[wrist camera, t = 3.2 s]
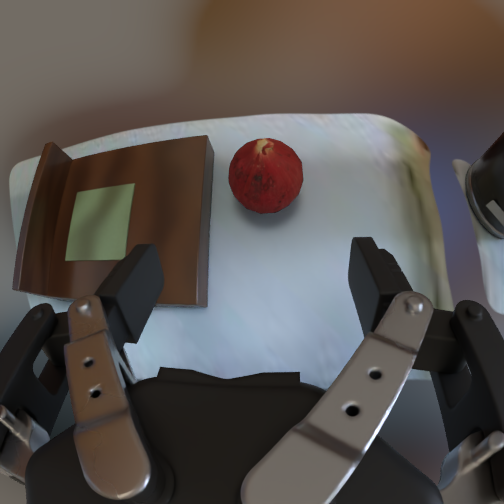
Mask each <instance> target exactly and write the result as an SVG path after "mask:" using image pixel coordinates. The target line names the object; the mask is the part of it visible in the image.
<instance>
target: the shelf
mask: <svg viewBox="0 0 504 504" xmlns="http://www.w3.org/2000/svg"><path fill="white" fill-rule="evenodd" d="M213 163H214V151H213V148H212V146H211V143H210V141H209V138H208V136H207V135H203V136H195V137H187V138H180V139H173V140H166V141H159V142H153V143H147V144H142V145H136V146H131V147H126V148H121V149H116V150H111V151H107V152H102V153H98V154H94V155H89V156H85V157H81V158H77V159H74V160H72V159H71V158H70V157H69V156H68V155H67V154H66V153H65V152H64V151H62V150H61V149H60V148H59V147H58V146H57V145H56V144H55V143H53V142H50V143H47V144H45V147H44V149H43V152H42V155H41V158H40V161H39V164H38V167H37V170H36V173H35V176H34V180H33V183H32V186H31V190H30V194H29V197H28V201H27V205H26V209H25V214H24V218H23V222H22V227H21V232H20V237H19V243H18V249H17V255H16V262H15V270H14V278H13V288H12V289H13V290H16V291H20V292H25V293H29V294H34V295H38V296H43V297H48V298H53V299H58V300H68V301H75V300H77V299H78V298H80V297H82V296H86V295H93V294H94V293H95V292H96V290H97V289H98V288H99V286H100V285H101V283H102V282H103V281H104V279H105V278H106V277H108V276H107V275H108V274H109V273H110V272H111V271H112V269H113V268H114V266H115V265H116V264H117V262H119V261H120V260H121V259H123V258H124V257H126V256H128V254H129V253H130V252H131V250H132V249H133V248H134V247H135V245H137V244H151V243H153V244H154V245H155V246H156V248H157V252H158V256H159V259H160V263H161V267H162V270H163V274H164V287H163V290H162V292H161V294H160V296H159V298H158V300H157V302H156V304H155V306H165V307H203V308H206V307H207V290H208V256H209V231H210V211H211V193H212V177H213Z"/></svg>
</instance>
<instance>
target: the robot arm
mask: <svg viewBox="0 0 504 504" xmlns="http://www.w3.org/2000/svg"><path fill="white" fill-rule="evenodd" d="M466 190H467V195H468V199H469V202H470V204H471V207H472V209H473V211H474V213H475V215H476V216H477V218H478V220H479V221H480V222H481V224H482V225H483V226H484V227H485V228H486V229H487V230H488V231H489V232H490V233H491V234H493V235H494V236H496V237H498V238H501V239H504V132H503V133H502V135H501V136H500V137H499V138H498V139H497V140H496V141H495V142H494V143H493V145H492V146H491V147H490V148H489V149H488V150H487V151H486V152H485V153H484V154H483V155H482V156H481V158H480V159H478V160H477V161H475V162H474V163H473V164H472V165H471V167H470V168H469V170H468V172H467V176H466ZM107 276H108V277H106V278H105V279H104V281H103V282H102V283H101V285H100V286H99V288H98V289H97V290H96V292H95V293H94V294H93V295H86V296H82V297H80V298H78V299H77V300H75V301H74V302H73V303H72V304H71V305H70V307H69V308H68V311H67V312H62V313H56V314H55V312H54V310H53V308H52V306H51V305H50V304H48V303H43V304H39V305H37V306H35V307H33V308H32V309H31V310H30V311H29V312H28V313H27V314H26V316H25V317H24V318H23V320H22V321H21V323H20V324H19V326H18V327H17V328H16V330H15V331H14V333H13V334H12V336H11V337H10V339H9V340H8V342H7V343H6V345H5V346H4V348H3V349H2V351H1V353H0V472H1V473H2V474H4V475H6V476H9V477H10V478H12V479H14V480H15V481H17V482H19V483H20V484H23V485H25V488H26V499H27V504H504V340H503V338H502V336H501V334H500V332H499V330H498V328H497V327H496V325H495V323H494V321H493V320H492V318H491V316H490V314H489V313H488V311H487V310H486V309H485V308H484V307H483V306H482V305H481V304H479V303H477V302H475V301H470V300H463V301H460V302H459V303H458V304H457V305H456V307H455V310H454V312H452V311H445V310H438V309H434V308H433V304H432V302H431V301H430V300H429V299H428V298H427V297H426V296H424V295H422V294H420V293H418V292H414V291H413V289H412V288H411V286H410V284H409V282H408V280H407V279H406V277H405V275H404V273H403V272H401V268H400V267H399V265H398V263H397V262H396V260H395V258H394V257H393V255H392V254H390V253H389V252H388V251H386V250H385V249H378V247H377V245H376V244H375V242H374V240H373V238H372V237H353V239H352V243H351V252H350V261H349V270H348V281H349V287H350V290H351V293H352V296H353V300H354V303H355V306H356V310H357V313H358V316H359V320H360V323H361V327H362V330H363V334H364V340H363V341H362V343H361V344H360V345H359V347H358V348H357V350H356V351H355V353H354V354H353V356H352V357H351V359H350V360H349V361H348V363H347V364H346V366H345V367H344V368H343V370H342V371H341V373H340V374H339V375H338V377H337V378H336V379H335V381H334V382H333V383H332V385H331V386H330V387H329V388H328V390H327V391H325V390H324V389H322V388H319V387H317V386H314V385H311V384H307V383H302V382H300V372H274V373H259V374H254V375H249V376H243V377H238V378H232V379H222V378H218V377H214V376H211V375H207V374H204V373H201V372H197V371H194V370H188V369H176V368H166V367H160V369H159V372H158V375H157V377H152V378H148V379H144V380H141V381H139V382H137V380H136V377H135V375H134V372H133V370H132V367H131V365H130V362H129V359H128V356H127V354H126V351H125V349H124V347H123V346H124V344H125V342H126V343H135V344H137V342H138V340H139V338H140V335H141V333H142V331H143V329H144V327H145V325H146V323H147V320H148V318H149V316H150V314H151V312H152V310H153V308H154V306H155V304H156V302H157V300H158V298H159V296H160V294H161V292H162V290H163V287H164V274H163V270H162V267H161V263H160V259H159V256H158V252H157V248H156V246H155V245H154V244H153V243H151V244H137V245H135V247H134V248H133V249H132V250H131V252H130V253H129V254H128V256H126V257H124V258H123V259H121V260H120V261H119V262H117V264H116V265H115V266H114V268H113V269H112V271H111V272H110V273H109V274H108V275H107ZM41 349H42V350H43V351H44V353H45V354H46V356H47V357H48V358H49V360H48V362H47V363H46V365H45V367H44V369H43V371H42V373H41V374H40V376H39V378H37V377H36V376H35V374H34V372H33V363H34V361H35V359H36V357H37V356H38V354H39V352H40V350H41ZM467 364H468V367H469V369H470V372H471V374H470V372H469V369H468V367H467ZM411 369H417V370H425V371H430V374H431V377H432V381H433V384H434V388H435V391H436V395H437V399H438V402H439V406H440V410H441V414H442V419H443V423H444V427H445V432H446V437H447V441H448V447H449V452H450V453H448V454H447V456H446V457H445V458H444V460H443V462H442V465H441V476H440V481H439V484H438V486H436V485H435V483H433V481H432V480H431V479H429V478H428V477H427V476H426V475H425V474H423V473H422V472H421V471H419V470H418V469H417V468H416V467H415V466H414V465H412V464H411V463H410V462H409V461H408V460H407V459H405V458H404V457H403V456H402V455H401V454H399V453H398V452H397V451H396V450H395V449H393V448H392V447H391V446H390V445H389V444H388V443H387V442H386V441H384V440H383V439H382V438H381V437H380V436H379V435H378V432H379V430H380V429H381V427H382V425H383V423H384V422H385V420H386V418H387V416H388V415H389V413H390V411H391V409H392V407H393V405H394V403H395V401H396V399H397V398H398V396H399V393H400V392H401V390H402V388H403V386H404V383H405V381H406V379H407V377H408V375H409V373H410V371H411ZM68 390H69V392H70V398H71V404H72V408H73V413H74V418H75V424H74V425H72V426H71V427H69V428H68V429H66V430H65V431H64V432H62V433H60V434H59V435H57V436H56V437H54V438H53V439H52V440H50V441H49V437H50V435H51V432H52V429H53V427H54V424H55V421H56V419H57V417H58V414H59V411H60V409H61V407H62V404H63V402H64V400H65V397H66V395H67V393H68Z"/></svg>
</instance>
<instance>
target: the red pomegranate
mask: <svg viewBox="0 0 504 504" xmlns="http://www.w3.org/2000/svg"><path fill="white" fill-rule="evenodd" d="M228 179H229V184H230V187H231V189H232V192H233V195H234V196H235V197H236V199H237V200H238V201H239V202H240V203H241V204H242V205H243V206H244V207H245V208H246V209H249V210H252V211H255V212H257V213H260V214H262V213H275V212H278V211H280V210H281V209H283V208H285V207H287V206H289V204H290V203H291V202H292V201H293V200H294V199H295V198H296V197H297V195H298V194H299V192H300V189H301V186H302V183H303V171H302V162H301V160H300V159H299V157H298V156H297V154H296V153H295V152H294V150H293V149H292V148H290V147H289V146H287V145H286V144H284V143H283V142H281V141H278V140H275V139H271V138H265V139H257V140H254V141H251V142H248V143H246V144H245V145H244V146H242V147H241V148H240V149H239V150H238V151H237V152H236V153H235V155H234V157H233V159H232V161H231V163H230V167H229V177H228Z"/></svg>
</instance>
